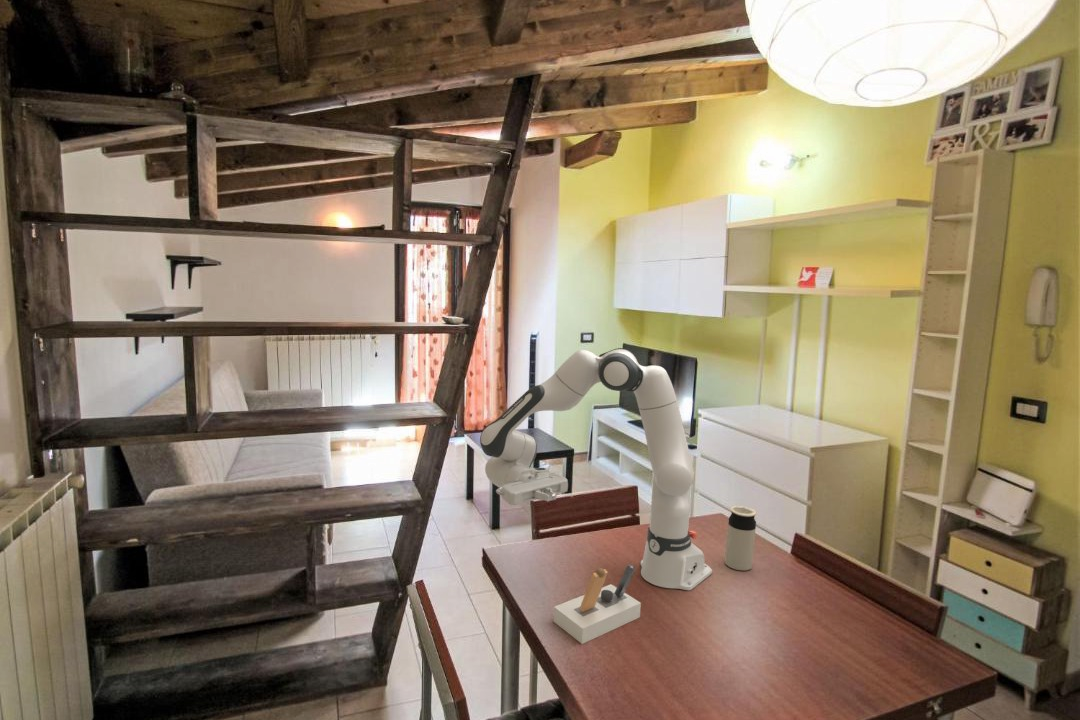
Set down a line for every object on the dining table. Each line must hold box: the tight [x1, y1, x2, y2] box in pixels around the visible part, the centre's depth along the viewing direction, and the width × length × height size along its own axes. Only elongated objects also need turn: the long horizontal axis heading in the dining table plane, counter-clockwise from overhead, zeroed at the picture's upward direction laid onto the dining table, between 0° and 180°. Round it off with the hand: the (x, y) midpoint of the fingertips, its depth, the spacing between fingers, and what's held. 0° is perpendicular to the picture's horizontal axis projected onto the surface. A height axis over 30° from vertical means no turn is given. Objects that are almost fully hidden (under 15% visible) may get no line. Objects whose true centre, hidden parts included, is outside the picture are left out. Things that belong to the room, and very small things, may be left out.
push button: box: [601, 590, 613, 601], centre depth 150 cm, size 3×3×1 cm
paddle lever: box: [580, 567, 609, 612], centre depth 143 cm, size 4×2×13 cm, turn 127°
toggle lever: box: [615, 564, 636, 598], centre depth 150 cm, size 2×2×10 cm
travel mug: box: [724, 505, 757, 572], centre depth 180 cm, size 8×8×18 cm
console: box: [553, 583, 642, 645], centre depth 149 cm, size 20×11×4 cm, turn 127°
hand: (552, 497), depth 158 cm, fingers closed
